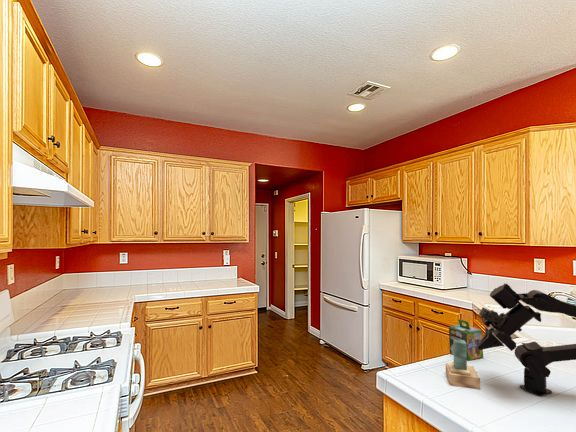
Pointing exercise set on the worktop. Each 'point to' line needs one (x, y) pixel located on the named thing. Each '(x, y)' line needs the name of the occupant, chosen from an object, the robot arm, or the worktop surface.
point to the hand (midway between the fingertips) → (478, 348)
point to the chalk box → (466, 339)
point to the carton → (464, 378)
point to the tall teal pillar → (459, 358)
